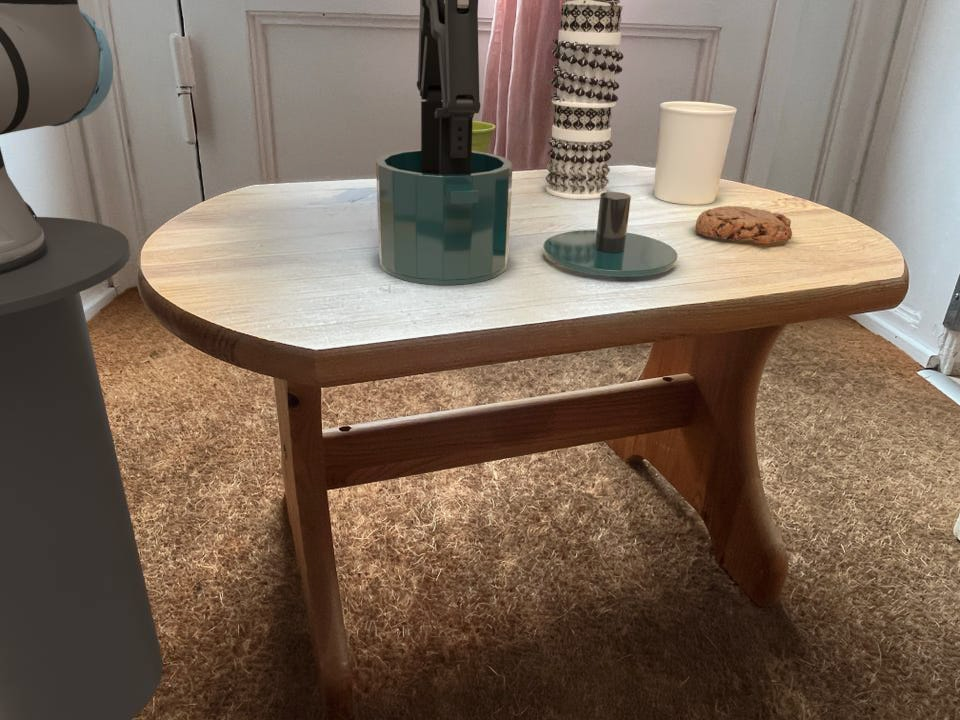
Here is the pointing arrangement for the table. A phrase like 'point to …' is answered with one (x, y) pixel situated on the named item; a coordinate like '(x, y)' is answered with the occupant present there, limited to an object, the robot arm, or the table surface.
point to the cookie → (744, 224)
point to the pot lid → (610, 245)
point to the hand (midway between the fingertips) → (444, 180)
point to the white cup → (691, 150)
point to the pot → (443, 219)
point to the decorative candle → (584, 97)
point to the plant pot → (481, 135)
